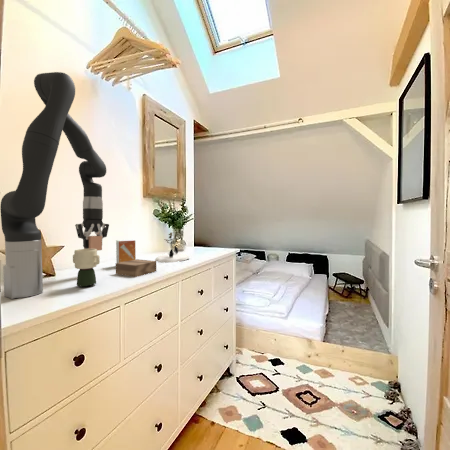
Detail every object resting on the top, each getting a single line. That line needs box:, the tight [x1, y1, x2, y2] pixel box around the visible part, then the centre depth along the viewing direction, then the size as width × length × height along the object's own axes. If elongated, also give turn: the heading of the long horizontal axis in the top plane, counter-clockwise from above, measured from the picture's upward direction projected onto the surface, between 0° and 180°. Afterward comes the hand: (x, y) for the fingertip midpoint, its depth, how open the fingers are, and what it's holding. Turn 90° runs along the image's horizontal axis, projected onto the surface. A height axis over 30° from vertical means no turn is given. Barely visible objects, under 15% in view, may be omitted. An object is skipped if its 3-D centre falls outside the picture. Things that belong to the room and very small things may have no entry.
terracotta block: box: [83, 235, 103, 252], centre depth 111 cm, size 5×5×6 cm
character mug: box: [72, 248, 101, 287], centre depth 93 cm, size 11×7×13 cm, turn 77°
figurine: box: [154, 232, 190, 263], centre depth 150 cm, size 20×18×16 cm
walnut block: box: [115, 258, 157, 278], centre depth 115 cm, size 12×12×5 cm
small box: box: [115, 239, 137, 263], centre depth 132 cm, size 8×6×13 cm
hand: (93, 247), depth 111 cm, fingers closed on terracotta block, 5 cm apart
